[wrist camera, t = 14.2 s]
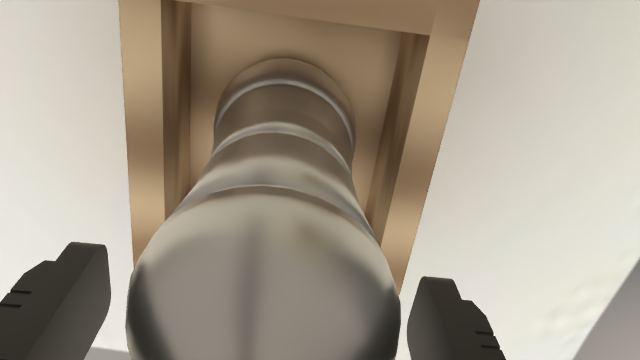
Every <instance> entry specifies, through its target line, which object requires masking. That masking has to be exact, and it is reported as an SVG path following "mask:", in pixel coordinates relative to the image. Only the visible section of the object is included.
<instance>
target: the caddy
mask: <svg viewBox="0 0 640 360" xmlns="http://www.w3.org/2000/svg"><path fill="white" fill-rule="evenodd" d="M118 2H119V20H120V37H121V55H122V72H123V89H124V107H125V124H126V142H127V159H128V176H129V194H130V211H131V228H132V246H133V263H134V268H135V266H136V264H137V261H138V259H139V257H140V255H141V254H142V252H143V251H144V249H145V248H146V246H147V245H148V243H149V242H150V240H151V238H152V237H153V235H154V234H155V233H156V232H157V230H158V229H159V228H160V227H161V226H162V224H163V223H164V222H165V221H166V220H167V218H168V217H169V216H170V215H171V214H172V213H173V211H174V210H175V209H176V208H177V207H178V205H179V204H180V203H181V202H182V201H183V199H184V198H185V197H186V196H187V195H188V193H189V192H190V191H191V190H192V189H193V187H194V186H195V184H196V183H197V181H198V179H199V177H200V175H201V174H202V172H203V170H204V168H205V166H206V165H207V164H208V161H209V159H210V158H211V154H212V149H213V145H214V119H215V113H216V109H217V104H218V101H219V99H220V97H221V95H222V93H223V91H224V89H225V88H226V87H227V85H228V84H229V83H230V82H231V80H232V79H234V78H235V77H236V76H237V75H239V74H240V73H241V72H242V71H244V70H246V69H247V68H249V67H251V66H253V65H255V64H257V63H259V62H262V61H266V60H270V59H278V58H288V59H295V60H300V61H303V62H306V63H309V64H311V65H313V66H315V67H316V68H318V69H320V70H322V71H323V72H324V73H325V74H326V75H328V76H329V77H330V78H331V79H332V80H333V81H334V82H335V83H336V84H337V85H338V86H339V88H340V89H341V90H342V91H343V93H344V94H345V95H346V97H347V99H348V101H349V103H350V105H351V107H352V110H353V113H354V117H355V121H356V144H355V151H354V158H353V161H352V180H353V184H354V187H355V191H356V194H357V198H358V201H359V204H360V207H361V209H362V211H363V213H364V215H365V217H366V219H367V221H368V223H369V226H370V228H371V230H372V232H373V234H374V236H375V238H376V240H377V242H378V244H379V246H380V248H381V250H382V252H383V254H384V256H385V258H386V260H387V262H388V265H389V268H390V271H391V274H392V277H393V279H394V282H395V285H396V289H397V293H398V295H400V291H401V287H402V284H403V280H404V276H405V273H406V269H407V265H408V262H409V258H410V254H411V251H412V247H413V244H414V240H415V236H416V233H417V229H418V225H419V222H420V218H421V214H422V211H423V207H424V203H425V200H426V196H427V192H428V189H429V185H430V181H431V178H432V174H433V170H434V167H435V163H436V159H437V156H438V152H439V148H440V145H441V141H442V137H443V134H444V130H445V126H446V123H447V119H448V115H449V112H450V108H451V104H452V101H453V97H454V93H455V90H456V86H457V82H458V79H459V75H460V71H461V68H462V64H463V60H464V57H465V53H466V49H467V46H468V42H469V38H470V35H471V31H472V27H473V24H474V20H475V16H476V13H477V9H478V5H479V2H480V0H118Z"/></svg>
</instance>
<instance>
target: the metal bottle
mask: <svg viewBox="0 0 640 360" xmlns="http://www.w3.org/2000/svg"><path fill="white" fill-rule="evenodd" d="M355 144H356V121H355V117H354V113H353V110H352V107H351V105H350V103H349V101H348V99H347V97H346V95H345V94H344V93H343V91H342V90H341V89H340V88H339V86H338V85H337V84H336V83H335V82H334V81H333V80H332V79H331V78H330V77H329V76H328V75H326V74H325V73H324V72H323V71H322V70H320V69H318V68H316V67H315V66H313V65H311V64H309V63H306V62H303V61H300V60H295V59H288V58H278V59H270V60H266V61H262V62H259V63H257V64H255V65H253V66H251V67H249V68H247V69H246V70H244V71H242V72H241V73H240V74H239V75H237V76H236V77H235V78H234V79H232V80H231V82H230V83H229V84H228V85H227V87H226V88H225V89H224V91H223V93H222V95H221V97H220V99H219V101H218V104H217V109H216V113H215V119H214V145H213V149H212V154H211V158H210V159H209V161H208V164H207V165H206V166H205V168H204V170H203V172H202V174H201V175H200V177H199V179H198V181H197V183H196V184H195V186H194V187H193V189H192V190H191V191H190V192H189V193H188V195H187V196H186V197H185V198H184V199H183V201H182V202H181V203H180V204H179V205H178V207H177V208H176V209H175V210H174V211H173V213H172V214H171V215H170V216H169V217H168V218H167V220H166V221H165V222H164V223H163V224H162V226H161V227H160V228H159V229H158V230H157V232H156V233H155V234H154V235H153V237H152V238H151V240H150V242H149V243H148V245H147V246H146V248H145V249H144V251H143V252H142V254H141V255H140V257H139V259H138V261H137V264H136V266H135V268H134V270H133V272H132V274H131V278H130V284H129V290H128V296H127V310H126V325H125V328H126V337H127V346H128V350H129V353H130V356H131V359H132V360H395V357H396V353H397V347H398V339H399V332H400V325H401V306H400V300H399V296H398V293H397V289H396V285H395V282H394V279H393V277H392V274H391V271H390V268H389V265H388V262H387V260H386V258H385V256H384V254H383V252H382V250H381V248H380V246H379V244H378V242H377V240H376V238H375V236H374V234H373V232H372V230H371V228H370V226H369V223H368V221H367V219H366V217H365V215H364V213H363V211H362V209H361V207H360V204H359V201H358V198H357V194H356V191H355V187H354V184H353V180H352V161H353V158H354V151H355Z"/></svg>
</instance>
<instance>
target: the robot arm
mask: <svg viewBox="0 0 640 360" xmlns="http://www.w3.org/2000/svg"><path fill="white" fill-rule="evenodd" d="M110 300H111V287H110V276H109V265H108V254H107V249H106V246H105V245H101V244H91V243H80V242H71V243H69V244H68V246H67V247H66V248H65V249H64V251H63V252H62V253H61V255H60V256H59V257H58V259H57V260H56V261H46V260H45V261H43V262H41V263H40V264H38V265H37V266H35V267H34V268H32V269H31V270H29V271H27V272H26V273H24V274H23V276H22V277H21V278H20V279H19V280H18V282H17V283H16V284H15V285H14V286H13V288H12V289H11V292H10V293H8V294H7V295H6V296H5V297H4V298H3V300H2V301H1V302H0V360H84V358H85V356H86V354H87V352H88V350H89V349H90V347H91V345H92V343H93V341H94V339H95V337H96V335H97V333H98V331H99V329H100V328H101V326H102V324H103V322H104V320H105V318H106V316H107V313H108V310H109V306H110ZM407 342H408V347H409V351H410V355H411V360H506V359H505V357H504V354H503V352H502V350H500V346H499V344H498V341H497V339H496V337H495V336H493V330H492V328H491V326H490V324H489V322H488V320H487V317H486V316H485V315H484V314H483V312H482V311H481V310H480V309H479V308H478V307H477V306H476V305H475V304H474V303H473V302H472V301H469V300H462V299H461V297H460V294H459V292H458V289H457V287H456V285H455V282H454V281H453V280H452V279H447V278H436V277H426V276H424V277H422V278H421V280H420V282H419V286H418V289H417V292H416V296H415V299H414V302H413V306H412V309H411V312H410V316H409V319H408V324H407Z"/></svg>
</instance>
